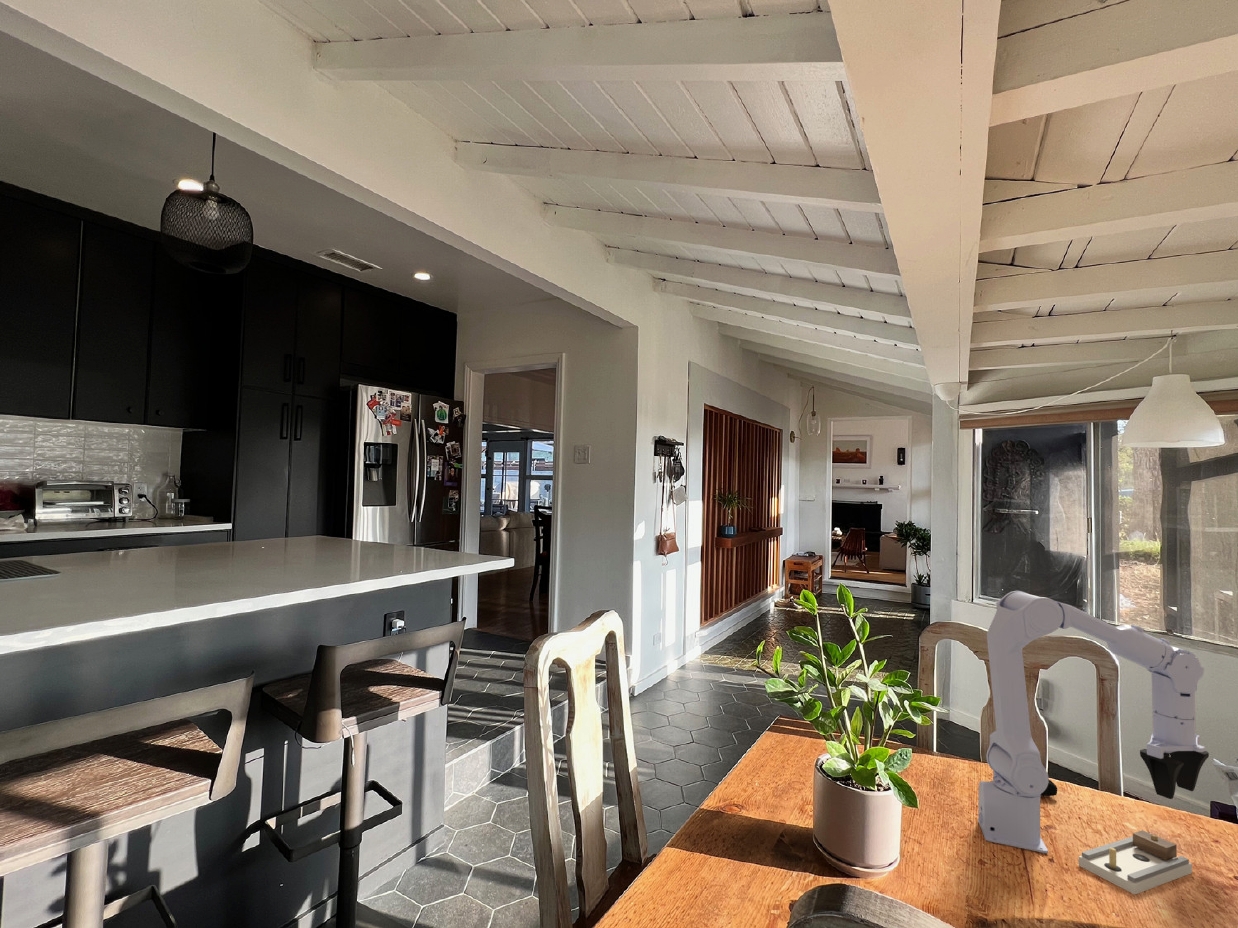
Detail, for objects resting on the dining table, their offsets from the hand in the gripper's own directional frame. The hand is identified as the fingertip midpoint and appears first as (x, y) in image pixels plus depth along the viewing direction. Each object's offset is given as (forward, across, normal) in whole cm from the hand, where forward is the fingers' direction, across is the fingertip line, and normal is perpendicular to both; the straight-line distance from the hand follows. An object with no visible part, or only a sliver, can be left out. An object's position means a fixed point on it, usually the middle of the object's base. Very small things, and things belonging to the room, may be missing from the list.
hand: (1175, 792), depth 108 cm
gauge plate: (+10, -14, 0) cm, 17 cm away
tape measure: (+11, +1, +24) cm, 27 cm away
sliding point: (+8, -7, 0) cm, 11 cm away
